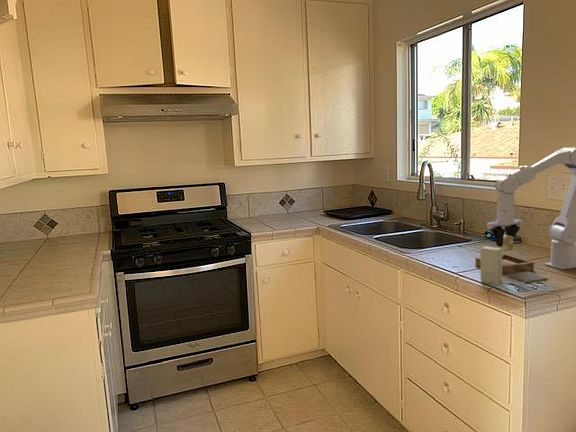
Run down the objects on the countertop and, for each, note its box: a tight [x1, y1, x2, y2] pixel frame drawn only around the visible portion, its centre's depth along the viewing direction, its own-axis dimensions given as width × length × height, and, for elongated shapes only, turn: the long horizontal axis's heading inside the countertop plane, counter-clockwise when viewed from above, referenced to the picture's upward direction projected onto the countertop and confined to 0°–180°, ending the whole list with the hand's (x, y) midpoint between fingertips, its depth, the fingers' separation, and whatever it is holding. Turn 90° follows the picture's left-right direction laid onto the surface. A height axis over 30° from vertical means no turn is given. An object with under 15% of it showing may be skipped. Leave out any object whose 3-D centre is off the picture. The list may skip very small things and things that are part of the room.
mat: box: [505, 271, 548, 284], centre depth 157 cm, size 9×9×1 cm
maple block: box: [495, 234, 514, 252], centre depth 169 cm, size 4×4×5 cm
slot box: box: [474, 253, 535, 276], centre depth 170 cm, size 14×14×3 cm
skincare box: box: [480, 245, 503, 286], centre depth 153 cm, size 6×4×12 cm
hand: (504, 245), depth 169 cm, fingers closed on maple block, 4 cm apart
